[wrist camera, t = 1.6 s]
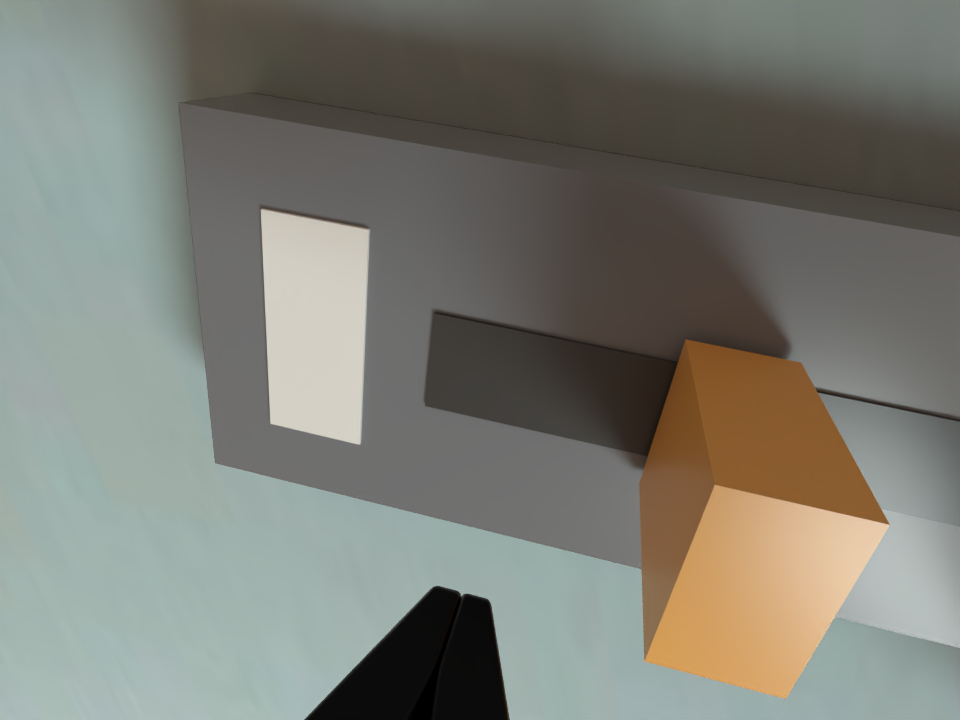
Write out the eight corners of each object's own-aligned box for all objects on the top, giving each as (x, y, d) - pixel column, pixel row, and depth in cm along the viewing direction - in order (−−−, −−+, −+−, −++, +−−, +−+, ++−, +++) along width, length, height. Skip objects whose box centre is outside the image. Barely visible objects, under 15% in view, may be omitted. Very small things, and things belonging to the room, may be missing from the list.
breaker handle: (801, 362, 13) (889, 525, 9) (738, 506, 15) (785, 698, 10) (685, 339, 13) (715, 484, 9) (639, 483, 15) (644, 661, 11)
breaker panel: (1290, 266, 13) (1460, 324, 10) (1030, 589, 18) (1102, 686, 15) (250, 92, 16) (175, 103, 13) (266, 410, 21) (212, 465, 18)
